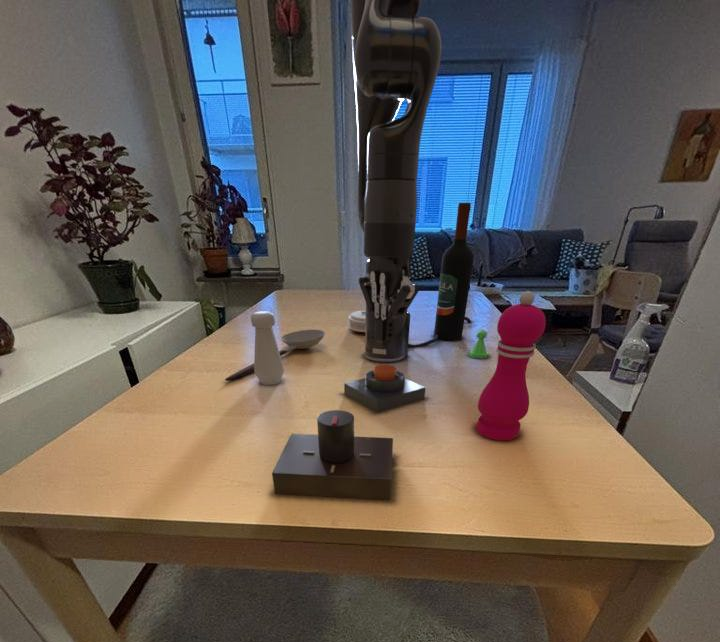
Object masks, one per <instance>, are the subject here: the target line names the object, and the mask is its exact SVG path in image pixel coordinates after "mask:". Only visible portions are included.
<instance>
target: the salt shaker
mask: <svg viewBox="0 0 720 642" xmlns="http://www.w3.org/2000/svg"><path fill="white" fill-rule="evenodd" d="M250 322H251V326H252V327H253V328H254V329H255V330H254V331H255V332H254V357H253V358H254V360H253V361H254V362H253V364H254V371H253V372H254V375H255V376H256V378H257V379H258V380H259V382H260V383H261V384H262V385H267V386H274V385H277V384H280V383H281V381H282V378H283V375H284V373H285V367H284V364H283V361H282V360H283V359H282V356H280V353H279V351H280V350H279V347H278V346H279V345H278V343H277V339H276V336H275V332H274V329H273V327H274V326H275V325H276V319H275V315H274V314H273V313H272V312H270V311H266V310H260V311H255V312H253V313H252V314H251V315H250Z"/></svg>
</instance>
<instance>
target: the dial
mask: <svg viewBox="0 0 720 642" xmlns="http://www.w3.org/2000/svg"><path fill="white" fill-rule="evenodd" d="M316 423H317V425H316V426H317V435H318V441H319V455H320V457H321V458H322V459H323V460H325V461H327V462H332V463H340V462H345V461H348V460H350V459H351V458H352V457H353V456H354V436H355V416H354V414H352V413H351V412H349V411H346V410H342V409H341V410H339V409H333V410H332V409H331V410H327V411H323V412H321V413H319V414H318V416H317V418H316Z"/></svg>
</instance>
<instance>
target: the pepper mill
mask: <svg viewBox="0 0 720 642" xmlns="http://www.w3.org/2000/svg"><path fill="white" fill-rule="evenodd" d="M535 299H536V298H535V294H534V292H532V291H530V290H527V291H524V292H523V293H521V295H520V296H519V303H517V304H514V305H511V306H509V307H507V308H506V309H505V310H504V311H503V312H502V313H501V315H500V316H499V318H498V322H497V326H496V329H497V330H496V331H497V334H498V336H499V337H500V340H499V341H498V342H497V348H496V350H495V351H496V353H497V354H498V356H497V357H498V358H497V364H496V368H495V371H494V373H493V375H492V377H491V378H490V380H489V381H488V383H487V384H486V385H485V387H484V388H483V390H482V391H481V393H480V395H479V397H478V398H479V399H478V401H477V409H478V411H479V413H480V414H481V415H480V416H479V417H478V419H477V425H476V430H477V432H478V434H480V435H482V436H483V437H485V438H487V439H491V440H495V441H511V440H513V439H514V440H515V439H516V438H517V437H518V436H519V433H520V430H521V422H520V421H521V420H522V419H524V418H525V417H526V416H527V414H528V412H529V407H530V396H529V390H528V385H527V377H526V374H527V368H528V364H529V361H530V358H532V357H533V356H534V355H535V350H536V348H537V344H536V343H535V342H536V341H538V340H539V339H540V338H541V337H542V336H543V334H544V332H545V330H546V322H547V320H546V314H545V313H544V311H543V310H542V309H541V308H540V307H538V306H536V305H533V303H534V302H535Z"/></svg>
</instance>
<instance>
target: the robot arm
mask: <svg viewBox="0 0 720 642" xmlns="http://www.w3.org/2000/svg"><path fill="white" fill-rule="evenodd" d="M349 2H350V24H351V25H350V26H351V27H350V28H351V29H350V30H351V32H350V33H351V49H352V53H351V54H352V67H353V69H352V71H353V81H354V93H355V106H356V107H355V109H356V126H357V127H356V128H357V209H358V210H357V211H358V212H357V213H358V221H359V225H360V228H361V231H362V233H363V254H364V257H366V258H368V259H367V260H366V263H365V264H366V265H365V276H362V277H359V278H358V285H359V287H360V289H361V293H362V295H363V298H364V301H365V310H366V321H365V332H364V333H365V334H364V357H365V359H366V360H368V361H373V362H377V363H393V362H399V361H402V360H403V359H404V358H405V357H408V353H409V348H419V347H427V346H428V345H431V344H434V343H436V342H437V341H439V340H438V338H439V336H438V335H436V336H435V338H434V337H433V338H432V339H429V340H427V341H424V342H421V343H418V344H411V343H410V342H409V341H410V325H411V324H410V323H411V313H410V312H409V311H408V310H409V307H410V306H411V305H412V303H413V301H414V299H415V298H416V296H417V295H418V293H419V291H420V287H419V285H418V284H413V283H412V281H411V280H410V278H411V277H410V276H411V264H412V258H413V256H414V251H415V238H416V224H417V223H416V222H417V212H418V211H417V210H418V182H417V181H418V172H419V162H420V161H419V159H420V147H421V140H422V134H423V128H424V124H425V120H426V115H427V111H428V108H429V104H430V100H431V98H432V94H433V90H434V87H435V83H436V80H437V77H438V74H439V69H440V66H441V61H442V53H443V51H442V50H443V49H442V48H443V45H442V39H441V38H442V37H441V33H440V30H439V28H438V26H437V24H436V23H435V21H434V20H433V19H432V18H429V17H425V16H418V14H419V13H420V10H421V7H422V3H423V0H350V1H349ZM404 100H405V101H407V104H406V108H405V112H404V114H403V115H402V116H400V117H399V118H396V119H395V117H396V116H397V114H398V111H399V109H400V106H401V104H402V102H403V101H404ZM464 321H466V322H467V323H468V324H469V323H472V321H471V318H469V317H468V316H465V319H464Z"/></svg>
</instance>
